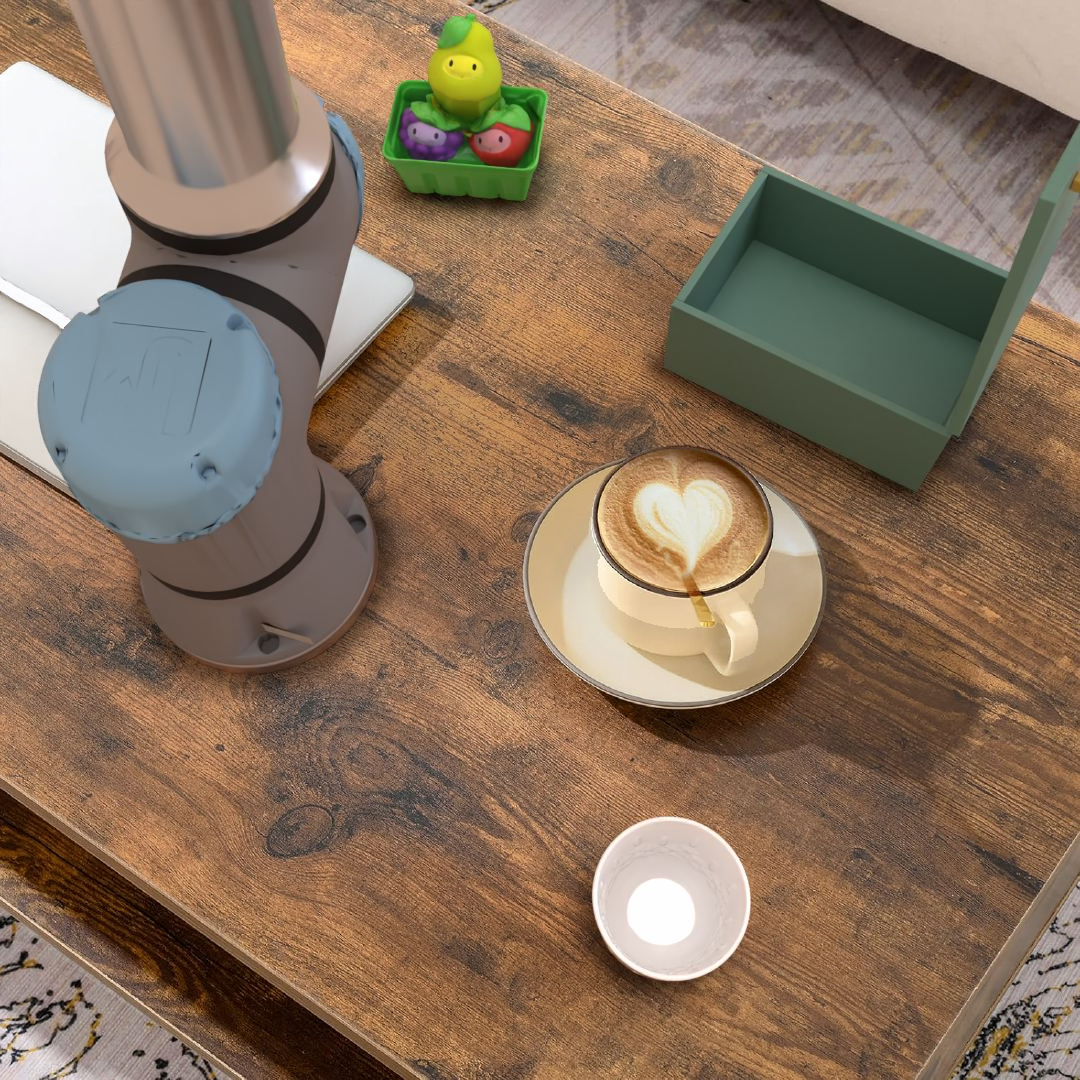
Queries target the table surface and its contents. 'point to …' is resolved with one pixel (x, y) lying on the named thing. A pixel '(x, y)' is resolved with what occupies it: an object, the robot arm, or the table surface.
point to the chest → (835, 324)
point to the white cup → (671, 899)
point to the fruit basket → (465, 122)
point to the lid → (1023, 275)
